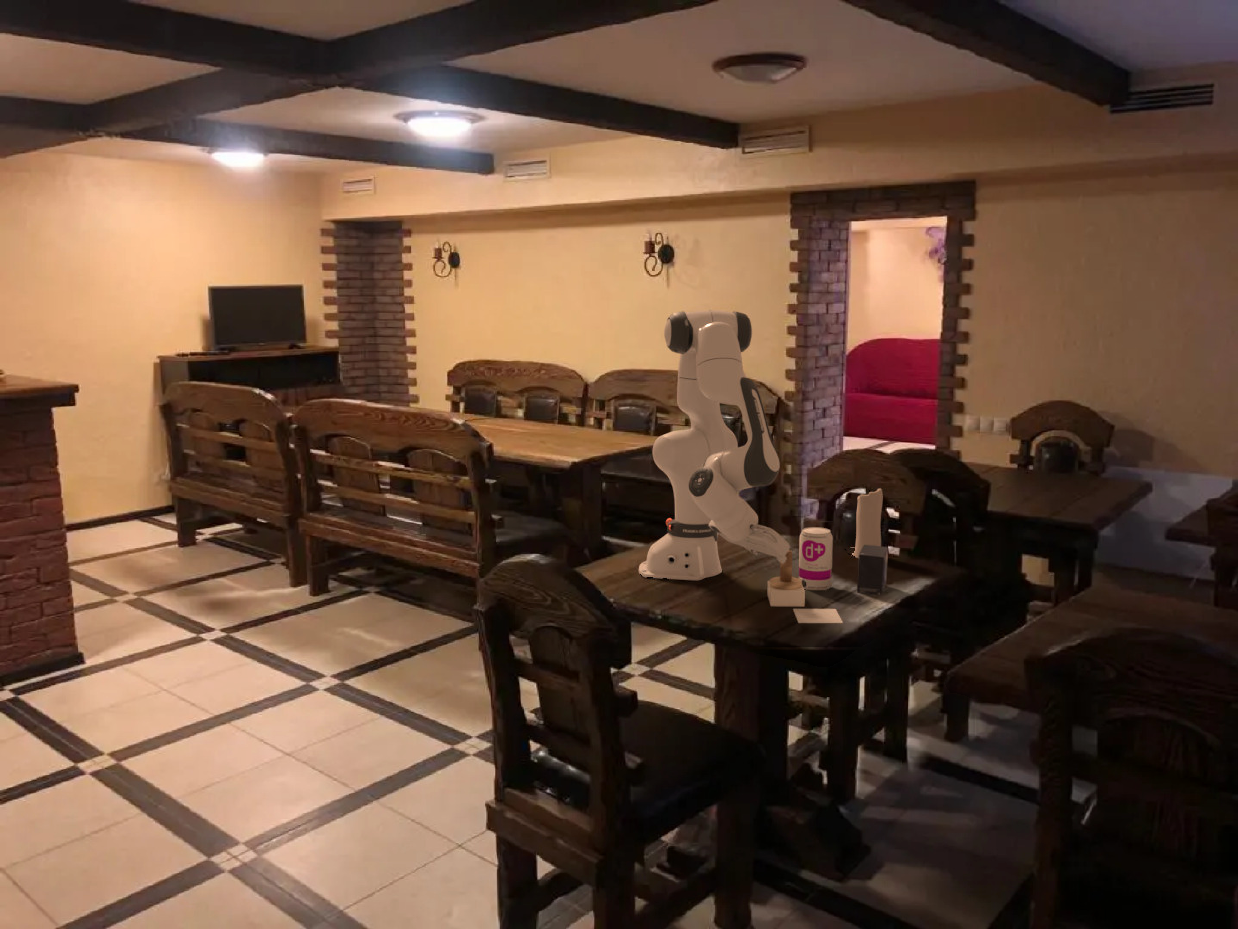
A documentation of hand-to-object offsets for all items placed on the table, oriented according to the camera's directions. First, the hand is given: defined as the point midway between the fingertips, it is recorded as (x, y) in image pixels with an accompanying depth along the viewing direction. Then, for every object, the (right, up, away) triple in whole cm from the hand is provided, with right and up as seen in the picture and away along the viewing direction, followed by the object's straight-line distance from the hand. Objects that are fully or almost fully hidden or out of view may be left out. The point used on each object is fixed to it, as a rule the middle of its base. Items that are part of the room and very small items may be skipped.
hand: (769, 556), depth 235 cm
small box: (+28, -10, +15) cm, 33 cm away
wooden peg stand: (+5, -7, +4) cm, 10 cm away
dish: (+5, -12, +5) cm, 14 cm away
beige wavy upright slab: (+34, -4, +49) cm, 60 cm away
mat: (+10, -14, -6) cm, 18 cm away
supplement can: (+14, -10, +17) cm, 25 cm away
